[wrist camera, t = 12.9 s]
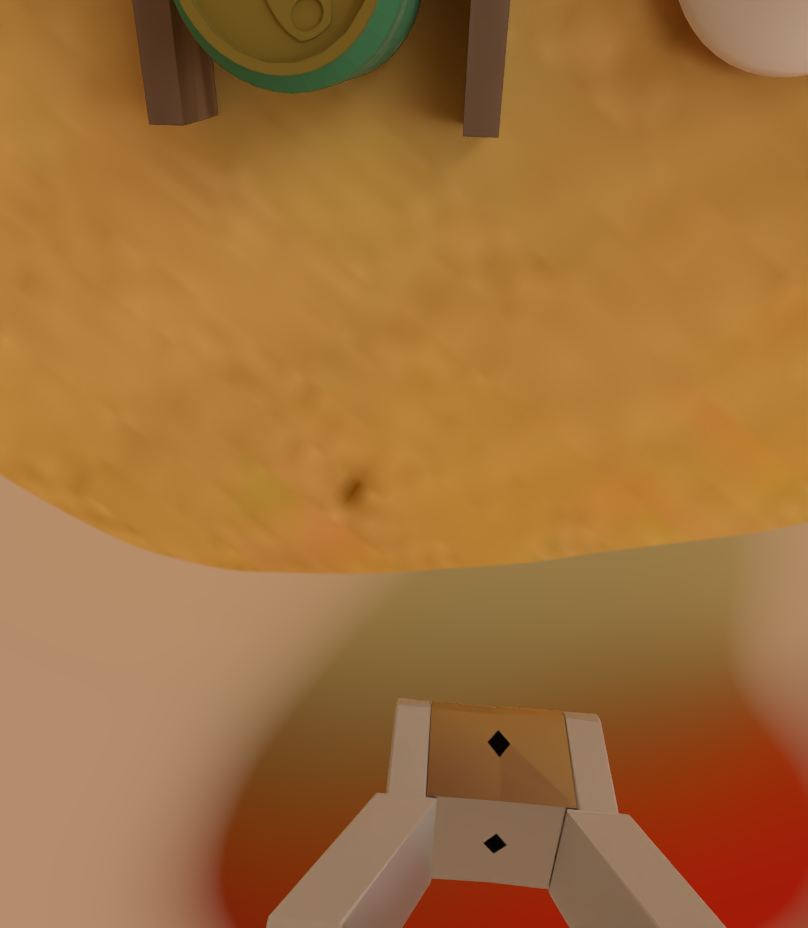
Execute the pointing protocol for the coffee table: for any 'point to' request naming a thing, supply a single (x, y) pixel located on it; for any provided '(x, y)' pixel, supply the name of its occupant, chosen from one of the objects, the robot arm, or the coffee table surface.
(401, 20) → the beverage can
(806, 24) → the flower in vase
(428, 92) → the coffee table surface
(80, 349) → the coffee table surface
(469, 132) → the walnut bracket
